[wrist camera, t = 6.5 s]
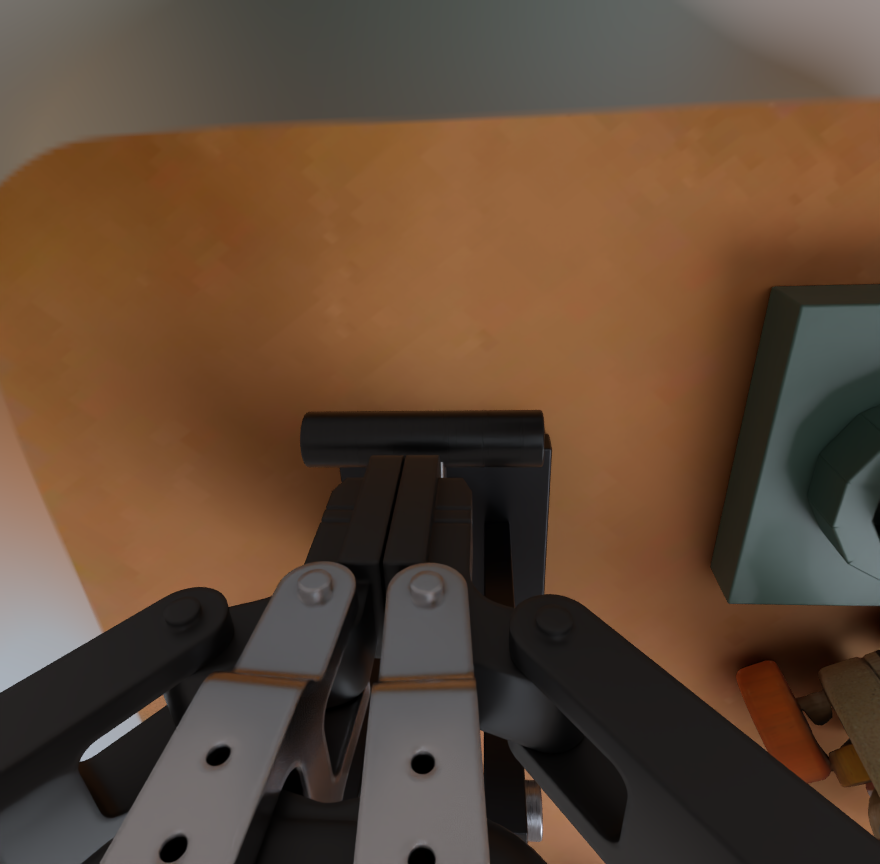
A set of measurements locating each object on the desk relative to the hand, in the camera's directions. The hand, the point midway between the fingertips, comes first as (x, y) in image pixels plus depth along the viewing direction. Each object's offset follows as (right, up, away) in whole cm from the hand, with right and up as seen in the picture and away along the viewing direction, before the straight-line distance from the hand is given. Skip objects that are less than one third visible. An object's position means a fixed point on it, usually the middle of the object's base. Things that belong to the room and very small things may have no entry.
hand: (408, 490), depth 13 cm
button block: (+17, +1, +9) cm, 19 cm away
